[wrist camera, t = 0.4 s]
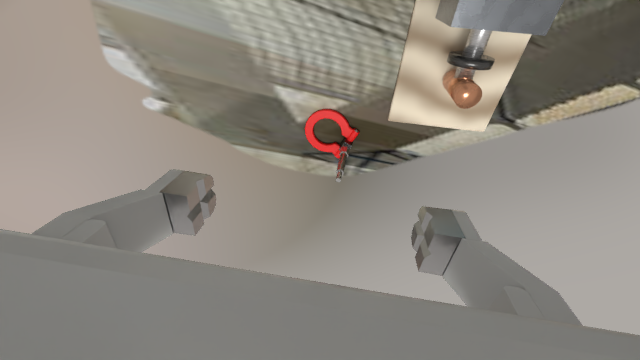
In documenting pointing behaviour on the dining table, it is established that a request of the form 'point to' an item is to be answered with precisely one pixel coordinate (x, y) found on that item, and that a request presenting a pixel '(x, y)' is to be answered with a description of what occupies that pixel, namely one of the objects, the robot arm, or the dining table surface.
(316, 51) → the dining table surface
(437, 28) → the base board
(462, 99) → the flanged metal rod
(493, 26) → the eye bracket
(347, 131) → the tow hook
